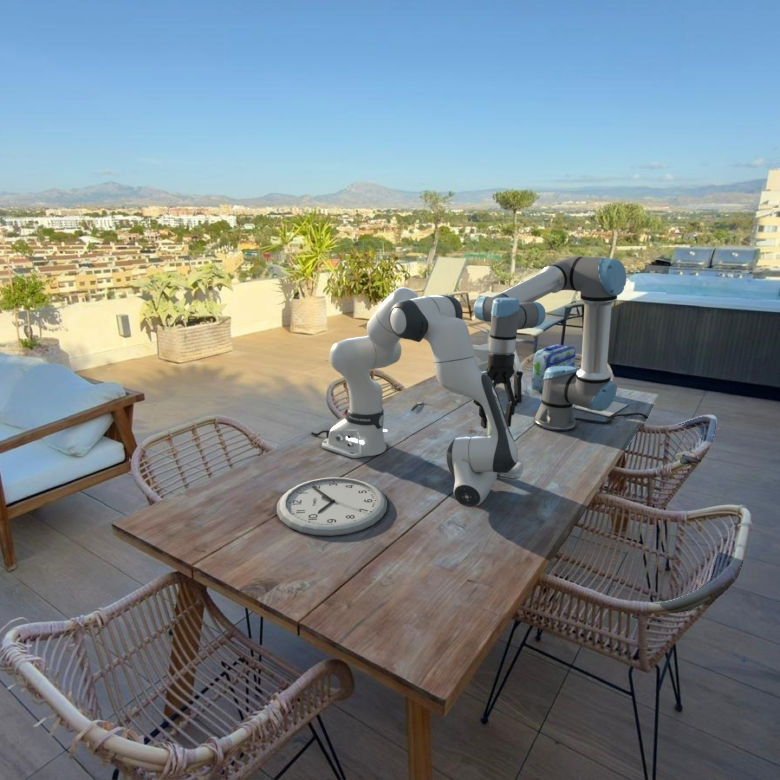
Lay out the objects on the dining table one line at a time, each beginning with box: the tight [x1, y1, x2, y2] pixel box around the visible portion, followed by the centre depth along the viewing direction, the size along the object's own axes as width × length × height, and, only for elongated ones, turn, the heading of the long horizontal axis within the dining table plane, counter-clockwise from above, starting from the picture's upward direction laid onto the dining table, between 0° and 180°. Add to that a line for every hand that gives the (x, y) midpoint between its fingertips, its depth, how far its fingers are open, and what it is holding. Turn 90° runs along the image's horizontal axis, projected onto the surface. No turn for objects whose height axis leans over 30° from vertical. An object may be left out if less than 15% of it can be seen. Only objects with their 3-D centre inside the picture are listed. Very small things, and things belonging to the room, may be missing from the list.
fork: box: [410, 395, 425, 412], centre depth 222 cm, size 3×16×2 cm, turn 160°
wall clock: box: [276, 476, 388, 537], centre depth 142 cm, size 30×2×30 cm
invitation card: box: [573, 400, 629, 418], centre depth 226 cm, size 21×1×15 cm
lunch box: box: [530, 344, 577, 392], centre depth 247 cm, size 26×11×21 cm, turn 134°
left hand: (493, 454), depth 162 cm, fingers closed on jar, 4 cm apart
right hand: (495, 425), depth 158 cm, fingers open, 7 cm apart
